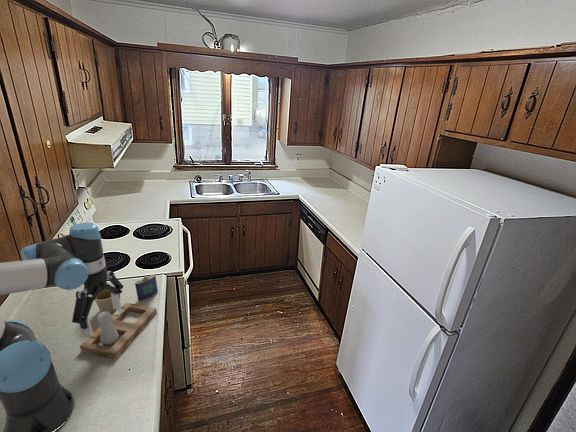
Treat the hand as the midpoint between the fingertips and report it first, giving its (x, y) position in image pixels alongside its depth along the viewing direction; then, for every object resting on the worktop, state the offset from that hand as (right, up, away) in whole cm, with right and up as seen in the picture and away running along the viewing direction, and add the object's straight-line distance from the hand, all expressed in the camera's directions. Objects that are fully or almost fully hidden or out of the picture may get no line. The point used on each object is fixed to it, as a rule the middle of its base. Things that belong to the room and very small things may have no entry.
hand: (103, 320), depth 107 cm
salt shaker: (0, -10, +4) cm, 11 cm away
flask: (+2, +1, +29) cm, 30 cm away
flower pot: (-10, -2, +20) cm, 23 cm away
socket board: (+1, -7, +10) cm, 12 cm away
